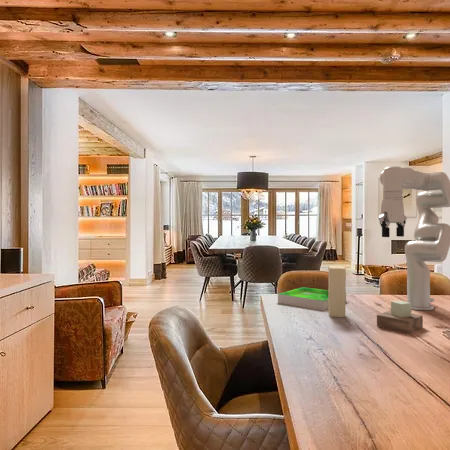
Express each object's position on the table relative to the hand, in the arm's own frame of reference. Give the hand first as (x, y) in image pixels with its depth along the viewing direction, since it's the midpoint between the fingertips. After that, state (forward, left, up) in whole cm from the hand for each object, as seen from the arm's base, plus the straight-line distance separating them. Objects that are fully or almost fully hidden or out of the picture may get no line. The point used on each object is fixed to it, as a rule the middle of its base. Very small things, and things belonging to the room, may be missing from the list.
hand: (393, 236), depth 156 cm
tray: (+7, -41, -35) cm, 54 cm away
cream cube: (+10, +10, -30) cm, 33 cm away
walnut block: (+10, +10, -35) cm, 38 cm away
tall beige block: (+16, -16, -34) cm, 41 cm away
